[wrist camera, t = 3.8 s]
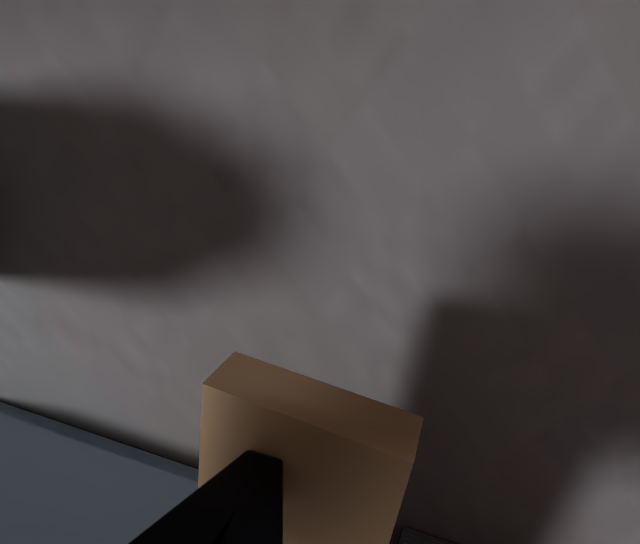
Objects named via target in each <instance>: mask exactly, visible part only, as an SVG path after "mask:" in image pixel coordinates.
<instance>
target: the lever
mask: <svg viewBox="0 0 640 544" xmlns="http://www.w3.org/2000/svg"><path fill="white" fill-rule="evenodd" d="M423 420H424V417H421V416H419V415H416V414H413V413H410V412H407V411H404V410H401V409H398V408H396V407H393V406H390V405H387V404H384V403H381V402H378V401H376V400H373V399H370V398H367V397H364V396H361V395H358V394H355V393H353V392H350V391H347V390H344V389H341V388H338V387H335V386H333V385H330V384H327V383H324V382H321V381H318V380H315V379H312V378H310V377H307V376H304V375H301V374H298V373H295V372H292V371H289V370H287V369H284V368H281V367H278V366H275V365H272V364H269V363H267V362H264V361H261V360H258V359H255V358H252V357H249V356H246V355H244V354H241V353H238V352H234V353H233V354H232V355H231V356H230V357H229V358H228V359H227V360H226V361H225V362H224V363H223V364H222V365H221V366H220V367H219V368H218V369H217V370H216V371H215V372H214V373H213V374H211V375H210V376H209V377H208V378H207V379H206V380H205V381H204V382H203V383H202V402H201V426H200V450H199V474H198V488H199V487H200V486H202V485H203V484H204V483H206V482H207V481H208V480H209V479H211V478H212V477H213V476H214V475H216V474H217V473H218V472H220V471H221V470H222V469H223V468H225V467H226V466H227V465H228V464H230V463H231V462H232V461H234V460H235V459H236V458H237V457H239V456H240V455H241V454H242V453H244V452H245V451H247V450H254V451H257V452H260V453H264V454H267V455H270V456H274V457H277V458H280V459H282V460H283V544H389V542H390V539H391V536H392V532H393V529H394V526H395V523H396V519H397V516H398V513H399V510H400V506H401V503H402V500H403V497H404V493H405V490H406V487H407V484H408V480H409V477H410V474H411V471H412V467H413V464H414V460H415V456H416V451H417V447H418V442H419V438H420V433H421V429H422V424H423Z"/></svg>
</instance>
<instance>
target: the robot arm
mask: <svg viewBox="0 0 640 544" xmlns="http://www.w3.org/2000/svg"><path fill="white" fill-rule="evenodd" d="M128 544H283V460H282V459H280V458H277V457H274V456H270V455H267V454H264V453H260V452H257V451H254V450H247V451H245V452H244V453H242V454H241V455H240V456H239V457H237V458H236V459H235V460H234V461H232V462H231V463H230V464H228V465H227V466H226V467H225V468H223V469H222V470H221V471H220V472H218V473H217V474H216V475H214V476H213V477H212V478H211V479H209V480H208V481H207V482H206V483H204V484H203V485H202V486H200V487H199V488H198V489H197V490H195V491H194V492H193V493H192V494H190V495H189V496H188V497H186V498H185V499H184V500H183V501H181V502H180V503H179V504H178V505H176V506H175V507H174V508H172V509H171V510H170V511H169V512H167V513H166V514H165V515H164V516H162V517H161V518H160V519H159V520H157V521H156V522H155V523H153V524H152V525H151V526H150V527H148V528H147V529H146V530H145V531H143V532H142V533H141V534H139V535H138V536H137V537H136V538H134V539H133V540H132V541H131V542H129V543H128Z"/></svg>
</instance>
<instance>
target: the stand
mask: <svg viewBox="0 0 640 544" xmlns="http://www.w3.org/2000/svg"><path fill="white" fill-rule="evenodd" d="M398 544H454V543H451V542H448V541H445V540H443V539H440V538H437V537H434V536H431V535H428V534H425V533H422V532H419V531H416V530H413V529H410V528H407V527H403V530H402V533H401V536H400V540H399V543H398Z"/></svg>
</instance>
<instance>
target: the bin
mask: <svg viewBox="0 0 640 544" xmlns="http://www.w3.org/2000/svg"><path fill="white" fill-rule="evenodd" d="M198 474H199V470H198V469H195V468H192V467H189V466H186V465H184V464H181V463H178V462H175V461H172V460H169V459H166V458H163V457H160V456H157V455H154V454H151V453H148V452H146V451H143V450H140V449H137V448H134V447H131V446H128V445H125V444H122V443H119V442H116V441H113V440H110V439H107V438H105V437H102V436H99V435H96V434H93V433H90V432H87V431H84V430H81V429H78V428H75V427H72V426H69V425H66V424H64V423H61V422H58V421H55V420H52V419H49V418H46V417H43V416H40V415H37V414H34V413H31V412H28V411H25V410H23V409H20V408H17V407H14V406H11V405H8V404H5V403H2V402H0V544H128V543H129V542H131V541H132V540H133V539H134V538H136V537H137V536H138V535H139V534H141V533H142V532H143V531H145V530H146V529H147V528H148V527H150V526H151V525H152V524H153V523H155V522H156V521H157V520H159V519H160V518H161V517H162V516H164V515H165V514H166V513H167V512H169V511H170V510H171V509H172V508H174V507H175V506H176V505H178V504H179V503H180V502H181V501H183V500H184V499H185V498H186V497H188V496H189V495H190V494H192V493H193V492H194V491H195V490H197V489H198Z"/></svg>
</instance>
